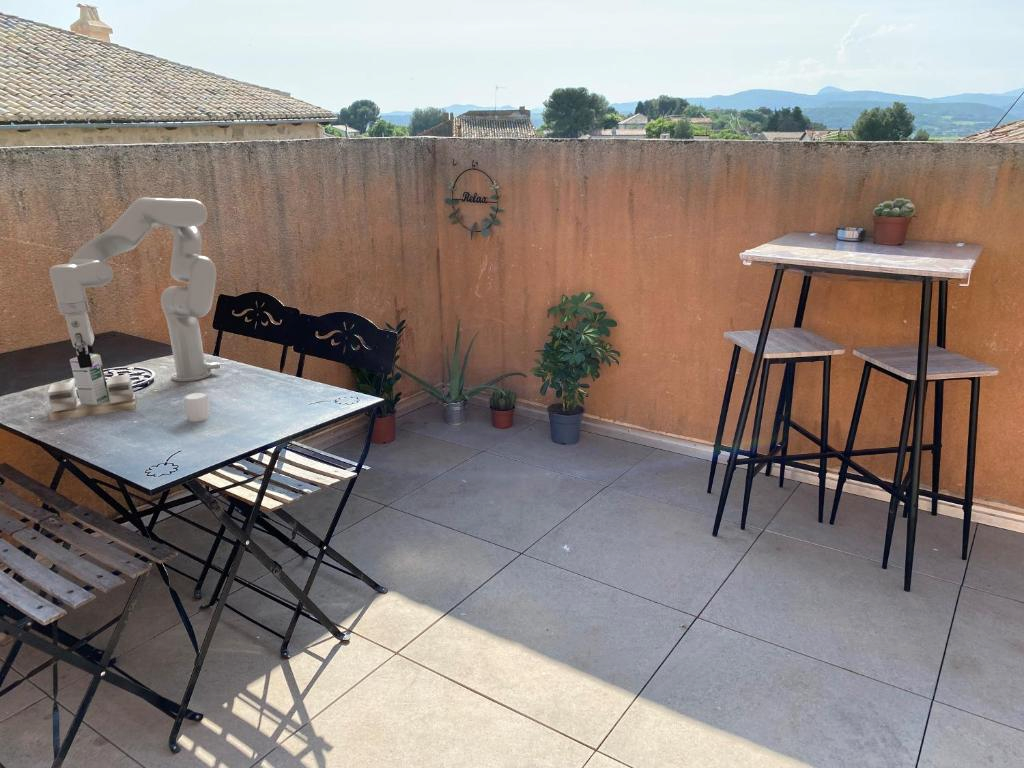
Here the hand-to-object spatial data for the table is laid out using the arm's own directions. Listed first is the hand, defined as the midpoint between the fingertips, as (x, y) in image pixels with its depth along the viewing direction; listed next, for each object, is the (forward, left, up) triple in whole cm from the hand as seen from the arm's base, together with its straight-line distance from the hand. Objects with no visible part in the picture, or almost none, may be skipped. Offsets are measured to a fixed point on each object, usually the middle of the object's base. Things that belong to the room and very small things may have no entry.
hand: (87, 362), depth 204 cm
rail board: (0, 0, -15) cm, 14 cm away
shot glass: (-28, +23, -15) cm, 39 cm away
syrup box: (0, 0, -13) cm, 13 cm away
